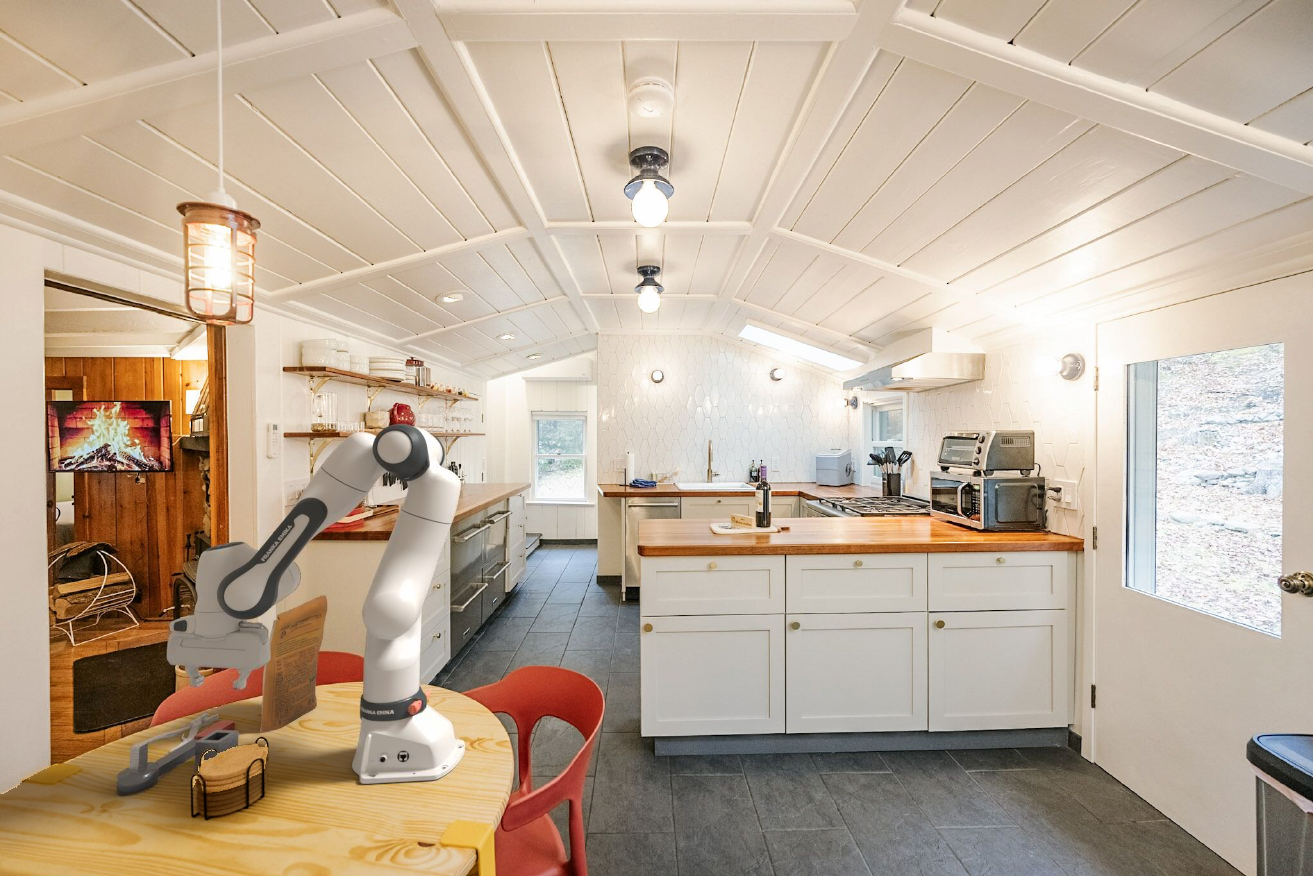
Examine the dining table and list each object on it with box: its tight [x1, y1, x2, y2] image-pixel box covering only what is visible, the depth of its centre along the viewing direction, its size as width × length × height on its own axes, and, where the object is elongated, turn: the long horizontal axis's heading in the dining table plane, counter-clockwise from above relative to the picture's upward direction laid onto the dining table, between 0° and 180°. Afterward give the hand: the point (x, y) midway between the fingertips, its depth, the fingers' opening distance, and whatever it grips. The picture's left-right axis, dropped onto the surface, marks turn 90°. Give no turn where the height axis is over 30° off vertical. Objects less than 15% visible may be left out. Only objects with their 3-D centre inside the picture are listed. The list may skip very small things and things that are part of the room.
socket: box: [194, 730, 240, 773], centre depth 116 cm, size 5×5×6 cm
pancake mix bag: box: [259, 594, 328, 733], centre depth 137 cm, size 7×19×28 cm, turn 169°
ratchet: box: [116, 720, 236, 797], centre depth 117 cm, size 6×24×8 cm, turn 176°
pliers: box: [143, 712, 220, 754], centre depth 128 cm, size 10×2×15 cm
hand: (218, 687), depth 116 cm, fingers open, 8 cm apart
